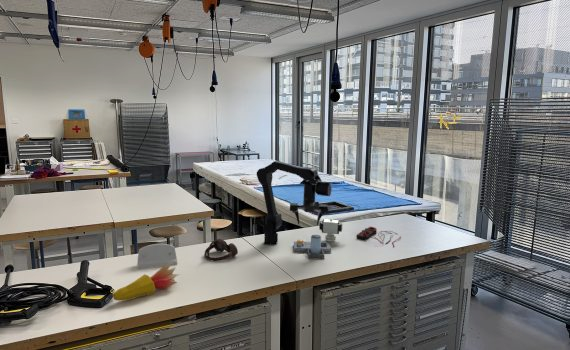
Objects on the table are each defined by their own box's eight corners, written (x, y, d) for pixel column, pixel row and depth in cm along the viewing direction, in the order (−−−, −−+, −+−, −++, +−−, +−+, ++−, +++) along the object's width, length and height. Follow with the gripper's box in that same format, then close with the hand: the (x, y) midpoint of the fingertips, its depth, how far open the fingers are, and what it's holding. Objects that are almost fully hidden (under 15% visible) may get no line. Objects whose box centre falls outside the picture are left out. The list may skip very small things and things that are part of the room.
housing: (294, 252, 186) (294, 248, 185) (293, 245, 195) (293, 241, 195) (331, 252, 186) (331, 248, 185) (328, 245, 196) (328, 242, 195)
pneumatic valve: (340, 243, 200) (341, 221, 198) (318, 241, 203) (319, 219, 201) (342, 239, 205) (342, 218, 203) (320, 237, 208) (321, 216, 206)
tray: (308, 258, 178) (308, 254, 177) (307, 252, 185) (307, 249, 185) (324, 258, 178) (324, 254, 177) (322, 253, 185) (322, 249, 185)
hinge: (136, 269, 162) (136, 245, 163) (137, 269, 166) (136, 245, 168) (177, 265, 167) (176, 242, 169) (177, 264, 171) (176, 242, 173)
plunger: (296, 248, 189) (297, 241, 188) (296, 246, 192) (296, 239, 191) (303, 248, 189) (303, 241, 188) (302, 246, 192) (303, 239, 191)
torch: (115, 313, 133) (177, 282, 151) (123, 310, 127) (186, 279, 145) (106, 291, 134) (169, 263, 152) (113, 287, 128) (177, 259, 146)
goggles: (241, 256, 178) (237, 237, 175) (219, 269, 169) (215, 250, 166) (220, 248, 188) (216, 230, 185) (199, 260, 180) (194, 242, 176)
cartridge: (310, 256, 179) (311, 237, 177) (310, 252, 183) (310, 234, 182) (321, 256, 179) (321, 237, 177) (320, 252, 184) (320, 234, 182)
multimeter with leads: (351, 232, 205) (367, 222, 226) (350, 240, 206) (367, 229, 227) (394, 240, 193) (407, 229, 214) (393, 249, 194) (407, 236, 215)
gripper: (290, 196, 178) (288, 228, 180) (330, 198, 178) (328, 230, 180) (290, 191, 189) (289, 222, 191) (328, 193, 189) (326, 223, 191)
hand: (307, 224), depth 188 cm, fingers open, 9 cm apart
